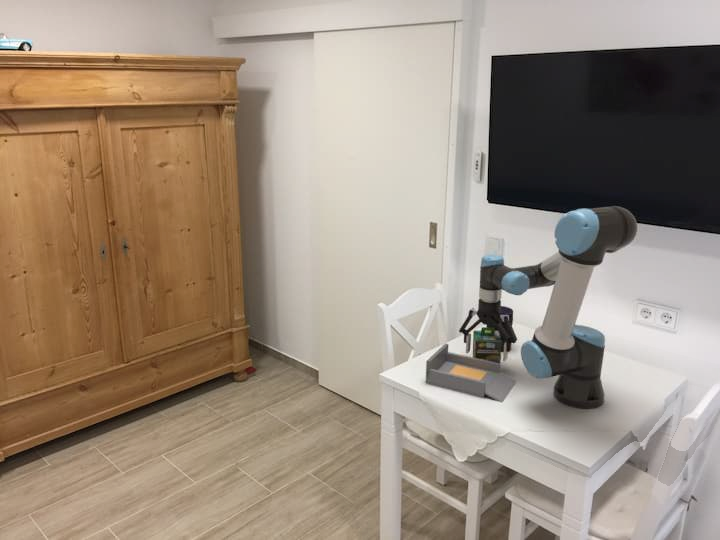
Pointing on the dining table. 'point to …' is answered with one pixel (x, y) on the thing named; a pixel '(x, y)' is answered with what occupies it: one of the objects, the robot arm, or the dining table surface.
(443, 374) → the dock bay
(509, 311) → the storage jar
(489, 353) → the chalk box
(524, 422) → the dining table surface
